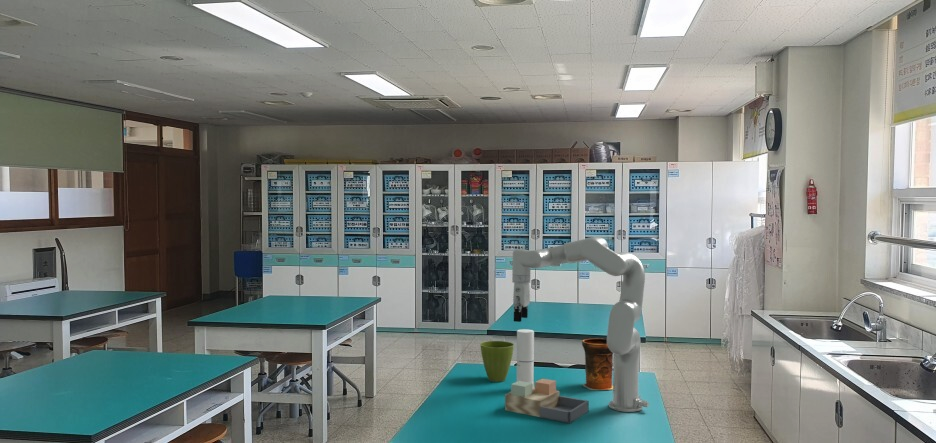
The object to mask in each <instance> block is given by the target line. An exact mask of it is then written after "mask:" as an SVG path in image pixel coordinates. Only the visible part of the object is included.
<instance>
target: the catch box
mask: <svg viewBox="0 0 936 443" xmlns="http://www.w3.org/2000/svg"><path fill="white" fill-rule="evenodd" d="M589 402H590V400H586V399H580V398H574V397H569V396H563V395H559V406H557V407H555V408H554V409H553V408H547V407H542V406H540V417H539V418H541V419H545V420H551V421H555V422H560V423H565V424H571V423H573V422H575V421H576V420H578V419H580V418H581V417H582V416H584V415H585V414H587V413H588V412H589V411H590V410H589V405H590V404H589Z"/></svg>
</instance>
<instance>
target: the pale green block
mask: <svg viewBox="0 0 936 443" xmlns="http://www.w3.org/2000/svg"><path fill="white" fill-rule="evenodd" d="M510 385H511V386H510V392H511V395H515V396H521V397H527V396H529V395H531V394H533V383H529V382H523V381H517V380H516V382H513V383H511V384H510Z"/></svg>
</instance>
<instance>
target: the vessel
mask: <svg viewBox="0 0 936 443" xmlns="http://www.w3.org/2000/svg"><path fill="white" fill-rule="evenodd" d="M581 346H582V347H583V350H584V360H585V362H584V363H585V364H584V365H585V366H584V370H585V383H583V384H582V386H583V387H584V388H587V389H588V390H591V391H594V390H595V391H603V390H605V391H607V390H608V391H609V390H613V366H614V362H613V360H614V353H612V352H611V351H610V350H609V348H608V346H607V338H602V337H601V338H599V337H594V338H586V339H583V340H582V341H581Z"/></svg>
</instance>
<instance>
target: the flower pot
mask: <svg viewBox="0 0 936 443" xmlns="http://www.w3.org/2000/svg"><path fill="white" fill-rule="evenodd" d="M479 347H480V353H481V358H482V363H483V365H484V369H485V373H486V376H487V379H488V380H489V381H490V382H495V383H496V382H497V383H498V382H504V381H506V379H507V376H508V374H509V370H510V367H511V363H512V359H513V358H512V357H513V352H514V348H515V346H514V343H513V342H509V341H503V340H501V341H500V340H487V341H483V342H481V343H480V345H479Z"/></svg>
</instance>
